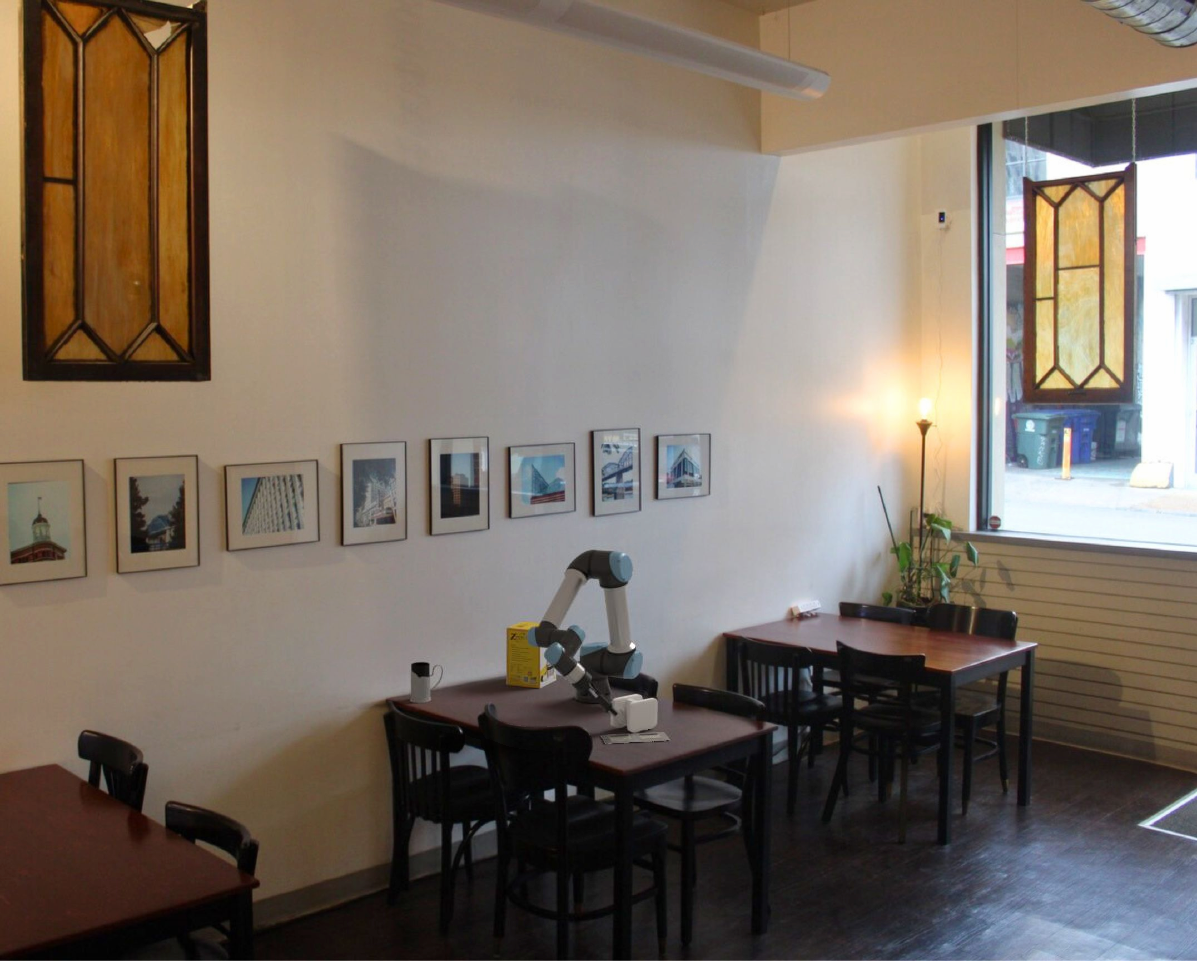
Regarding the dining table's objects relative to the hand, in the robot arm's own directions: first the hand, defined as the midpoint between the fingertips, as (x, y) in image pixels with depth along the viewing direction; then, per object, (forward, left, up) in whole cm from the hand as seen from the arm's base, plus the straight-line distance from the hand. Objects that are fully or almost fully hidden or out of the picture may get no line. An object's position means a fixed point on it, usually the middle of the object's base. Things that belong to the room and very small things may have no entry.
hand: (621, 719), depth 424 cm
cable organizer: (-1, +5, -4) cm, 6 cm away
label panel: (+11, +3, -4) cm, 12 cm away
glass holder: (-58, -70, -4) cm, 91 cm away
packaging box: (-79, -24, -4) cm, 82 cm away
